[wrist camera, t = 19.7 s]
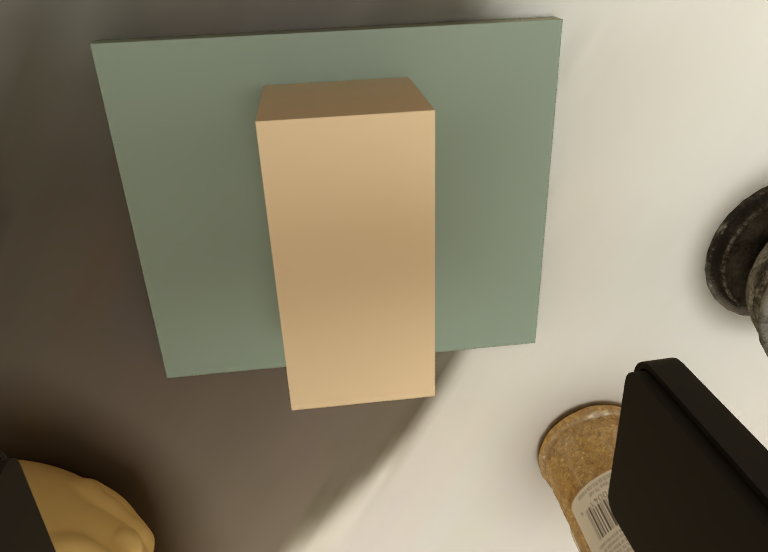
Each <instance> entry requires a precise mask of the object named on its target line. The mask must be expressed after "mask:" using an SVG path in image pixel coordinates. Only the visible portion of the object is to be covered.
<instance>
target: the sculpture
mask: <svg viewBox="0 0 768 552" xmlns="http://www.w3.org/2000/svg"><path fill="white" fill-rule="evenodd" d="M18 461H19V463H20V464H21V467H22V469H23V472H24V474H25V477H26V479H27V482H28V484H29V487H30V489H31V492H32V494H33V496H34V499H35V501H36V504H37V506H38V509H39V511H40V514H41V516H42V519H43V521H44V524H45V526H46V529H47V531H48V533H49V536H50V538H51V541H52V543H53V546H54V548H55V551H56V552H154V544H155V541H154V535H153V533H152V532H151V530H150V529H149V528H148V526H147V525H146V524H145V522H144V521H143V520H142V519H141V518H140V516H139V515H138V514H137V513H136V512H135V510H134V509H133V508H132V507H131V505H130V504H129V503H128V502H127V501H126V500H125V499H124V498H123V497H122V496H121V495H119V494H118V493H117V492H115V491H114V490H112V489H110V488H109V487H107V486H105V485H104V484H102V483H100V482H98V481H97V480H94V479H89V478H82V477H80V476H78V475H76V474H74V473H71V472H69V471H66V470H64V469H61V468H58V467H54V466H51V465H47V464H43V463H38V462H33V461H26V460H18Z"/></svg>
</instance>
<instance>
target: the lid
mask: <svg viewBox="0 0 768 552" xmlns="http://www.w3.org/2000/svg"><path fill="white" fill-rule="evenodd" d="M562 20H563V19H560V18H557V17H537V18H518V19H498V20H479V21H460V22H441V23H421V24H402V25H383V26H364V27H344V28H325V29H306V30H287V31H268V32H248V33H229V34H210V35H191V36H171V37H152V38H133V39H114V40H97V41H95V42H93V43H91V44H90V46H91V50H92V54H93V59H94V63H95V67H96V72H97V76H98V80H99V85H100V89H101V93H102V98H103V102H104V106H105V111H106V115H107V119H108V124H109V128H110V132H111V137H112V141H113V145H114V150H115V154H116V158H117V163H118V167H119V171H120V176H121V180H122V184H123V189H124V193H125V197H126V202H127V206H128V210H129V215H130V219H131V223H132V228H133V232H134V236H135V241H136V245H137V249H138V254H139V258H140V262H141V267H142V271H143V275H144V280H145V284H146V288H147V293H148V297H149V301H150V306H151V310H152V314H153V319H154V323H155V327H156V331H157V336H158V340H159V344H160V349H161V353H162V357H163V362H164V366H165V370H166V375H167V378H172V377H182V376H193V375H203V374H213V373H224V372H234V371H245V370H255V369H266V368H276V367H286V368H287V376H288V384H289V392H290V400H291V408H292V410H300V409H310V408H320V407H330V406H339V405H349V404H359V403H369V402H379V401H389V400H399V399H408V398H418V397H428V396H435V352H444V351H454V350H465V349H475V348H486V347H496V346H507V345H517V344H528V343H535V338H536V326H537V315H538V303H539V291H540V279H541V268H542V256H543V244H544V232H545V221H546V209H547V197H548V185H549V173H550V162H551V150H552V138H553V126H554V115H555V103H556V91H557V79H558V67H559V56H560V44H561V32H562Z"/></svg>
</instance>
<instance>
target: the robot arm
mask: <svg viewBox="0 0 768 552" xmlns="http://www.w3.org/2000/svg"><path fill="white" fill-rule="evenodd" d="M608 501H609V506H610V509H611V512H612V514H613V516H614V518H615V520H616V522H617V523H618V525H619V527H620V528H621V530H622V532H623V533H624V535H625V537H626V538H627V540H628V542H629V543H630V545H631V547H632V548H633V550H634V552H768V450H767V449H766V448H765V447H764V446H763V445H762V444H761V443H760V442H759V441H758V440H757V439H756V438H755V437H754V436H753V435H752V434H751V433H750V432H749V431H748V430H747V429H746V427H745V426H744V425H743V424H742V423H741V422H740V421H739V420H738V419H737V418H736V417H735V416H734V415H733V414H732V413H731V412H730V411H729V410H728V409H727V408H726V407H725V406H724V405H723V404H722V403H721V402H720V401H719V400H718V399H717V398H716V397H715V396H714V395H713V394H712V393H711V392H710V391H709V390H708V388H707V387H706V386H705V385H704V384H703V383H702V382H701V381H700V380H699V379H698V378H697V377H696V376H695V375H694V374H693V373H692V372H691V371H690V370H689V369H688V368H687V367H686V366H685V365H684V364H683V363H682V362H681V361H680V360H678V359H677V358H666V359H659V360H651V361H644V362H640V363H638V364H637V365H636V367H635V370H634V372H631V373H628V375H627V376H626V380H625V385H624V392H623V398H622V405H621V411H620V418H619V424H618V431H617V437H616V444H615V450H614V457H613V464H612V470H611V477H610V483H609V490H608ZM0 552H56V551H55V548H54V546H53V543H52V541H51V538H50V536H49V533H48V531H47V529H46V526H45V524H44V521H43V519H42V516H41V514H40V511H39V509H38V506H37V504H36V501H35V499H34V496H33V494H32V492H31V489H30V487H29V484H28V482H27V479H26V477H25V474H24V472H23V469H22V467H21V464H20V463H19V461H18V460H17V459H16V458H7V456H6V455H5V453H4V452H2V451H1V450H0Z"/></svg>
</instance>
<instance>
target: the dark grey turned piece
mask: <svg viewBox="0 0 768 552" xmlns="http://www.w3.org/2000/svg"><path fill="white" fill-rule="evenodd" d="M705 272H706V279H707V285H708V287H709V289H710V291H711V293H712V294H713V296H714V298H715V299H716V300H717V301H718V302H720V303H721V304H722V305H723V306H724V307H725V308H726V309H728V310H730V311H733V312H735V313H738V314H740V315H747V316H751V319H752V322H753V324H754V326H755V328H756V330H757V332H758V334H759V341H760V343H761V345H762V347H763V349H764V351H765V353H766V355H767V356H768V187H766V188H763V189H761V190H759V191H758V192H756V193H755V194H753V195H752V196H750V197H749V198H747V199H745V200H744V201H743V202H742V203H741V204H739V205H738V206H737V207H736V208H735V209H734V210H733V211H732V212H731V213H730V214H729V215H728V216H727V217H726V219H725V220H724V222H723V223H722V225H721V226H720V227H719V229H718V230H717V232H716V233H715V235H714V238H713V240H712V242H711V245H710V247H709V250H708V253H707V260H706V266H705Z"/></svg>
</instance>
